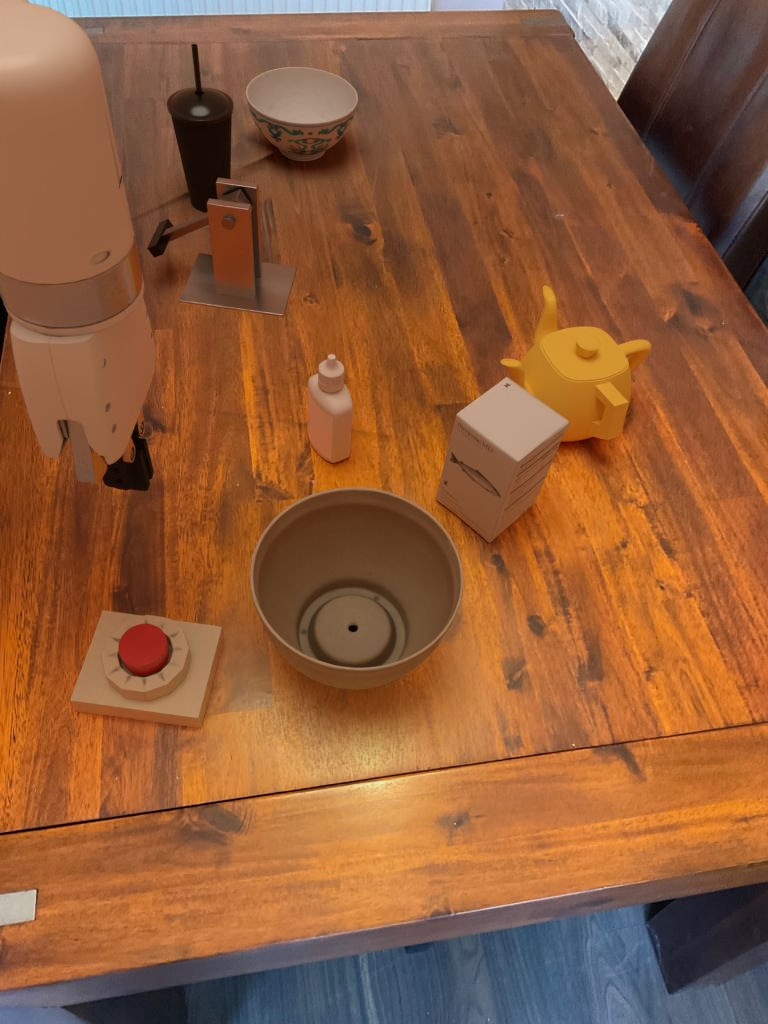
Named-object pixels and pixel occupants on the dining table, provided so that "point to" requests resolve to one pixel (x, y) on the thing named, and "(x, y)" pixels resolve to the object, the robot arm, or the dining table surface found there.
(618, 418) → the teapot
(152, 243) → the lever
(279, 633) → the planter bowl
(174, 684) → the button block
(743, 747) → the dining table surface
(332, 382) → the eye dropper bottle
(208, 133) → the drinking cup
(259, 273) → the lever stand
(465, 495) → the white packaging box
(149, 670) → the button
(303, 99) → the chinaware
